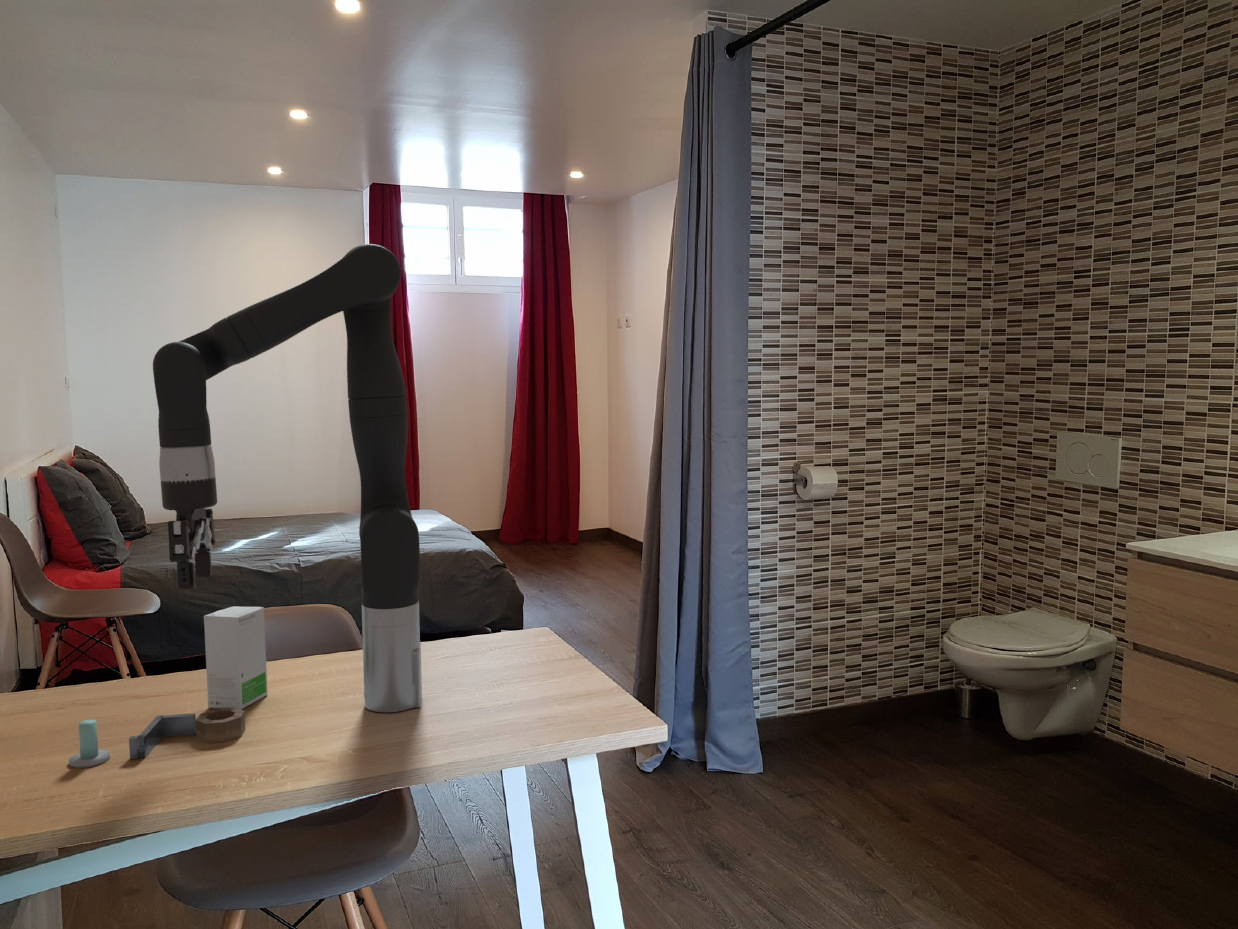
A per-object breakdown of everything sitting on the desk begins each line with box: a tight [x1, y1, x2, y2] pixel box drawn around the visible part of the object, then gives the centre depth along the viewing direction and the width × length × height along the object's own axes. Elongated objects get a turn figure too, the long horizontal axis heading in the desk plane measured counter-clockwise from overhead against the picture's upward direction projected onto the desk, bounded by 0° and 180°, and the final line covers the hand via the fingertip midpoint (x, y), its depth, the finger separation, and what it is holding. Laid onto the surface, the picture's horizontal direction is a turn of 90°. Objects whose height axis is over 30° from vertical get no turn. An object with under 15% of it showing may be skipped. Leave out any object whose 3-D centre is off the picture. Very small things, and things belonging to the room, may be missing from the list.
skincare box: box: [203, 605, 268, 710], centre depth 153 cm, size 8×7×16 cm
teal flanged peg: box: [68, 719, 111, 769], centre depth 130 cm, size 5×5×6 cm
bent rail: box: [128, 713, 197, 760], centre depth 135 cm, size 6×9×3 cm
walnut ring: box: [195, 707, 246, 744], centre depth 139 cm, size 6×6×3 cm
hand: (196, 582), depth 139 cm, fingers open, 8 cm apart
